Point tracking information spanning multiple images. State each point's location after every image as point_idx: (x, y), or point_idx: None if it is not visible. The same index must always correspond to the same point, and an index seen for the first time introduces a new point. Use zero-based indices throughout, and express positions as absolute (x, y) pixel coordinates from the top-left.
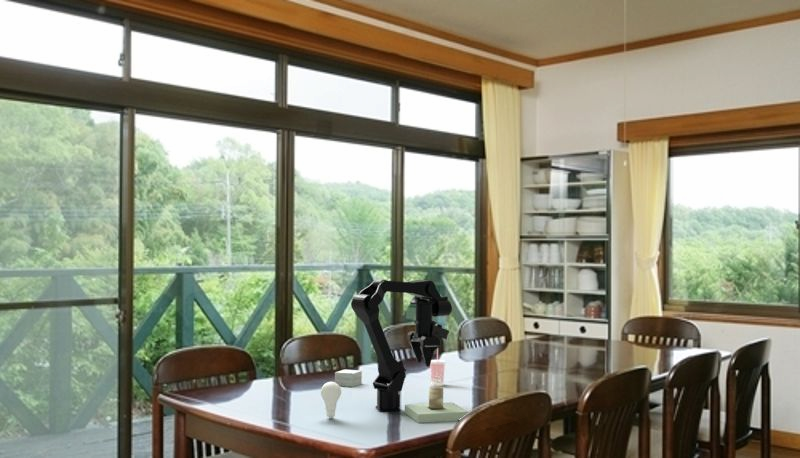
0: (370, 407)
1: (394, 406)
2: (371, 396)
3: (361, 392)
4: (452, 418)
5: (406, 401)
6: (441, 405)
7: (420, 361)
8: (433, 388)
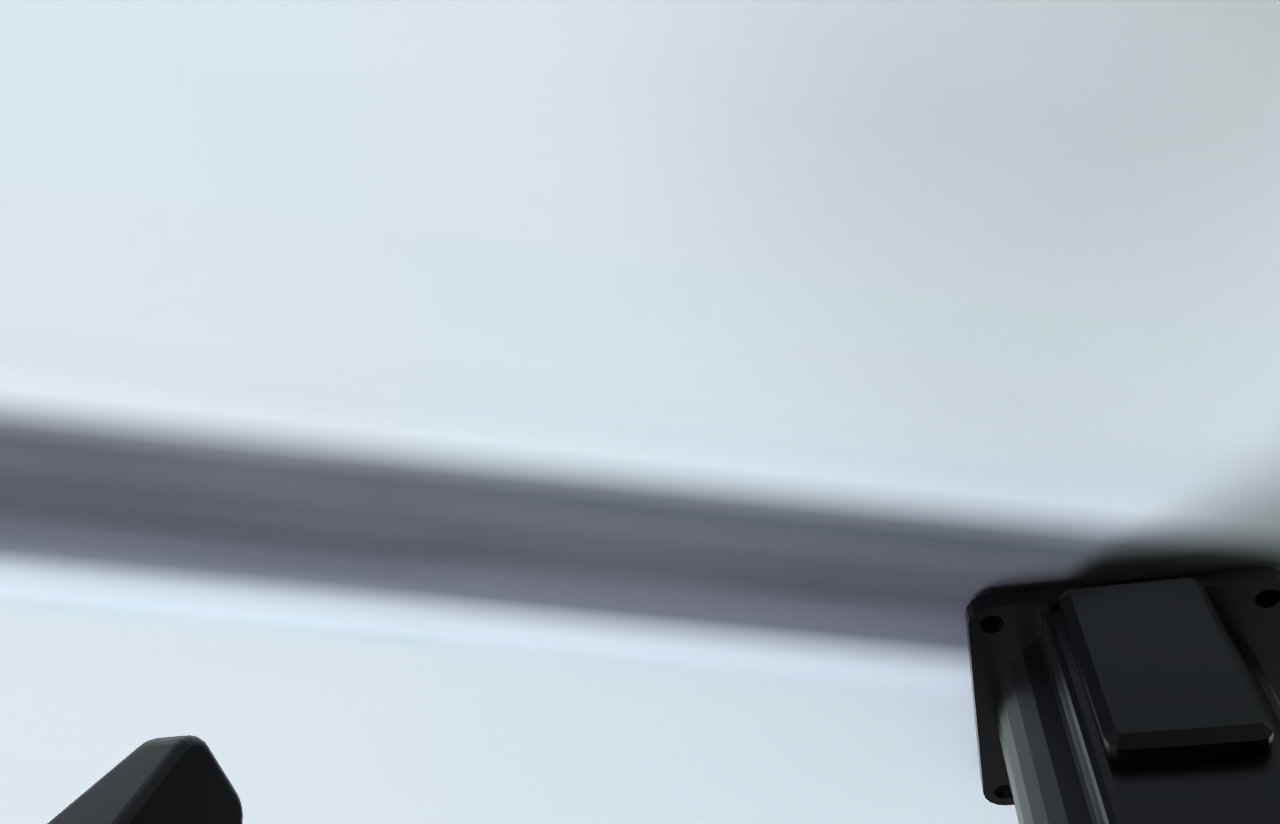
0: (941, 820)
1: (1251, 662)
2: (259, 748)
3: (38, 809)
4: None
5: (563, 394)
6: None
7: (187, 769)
8: None
